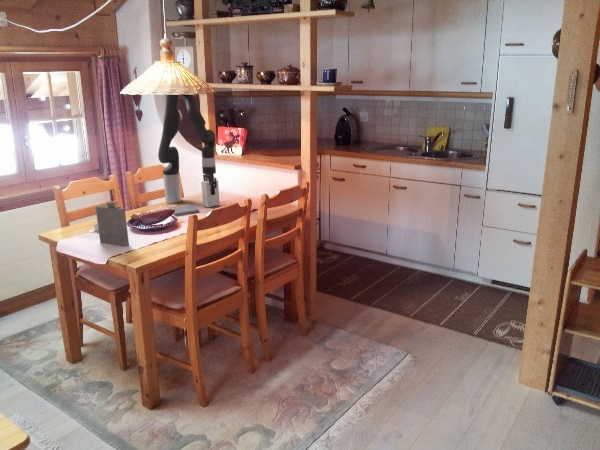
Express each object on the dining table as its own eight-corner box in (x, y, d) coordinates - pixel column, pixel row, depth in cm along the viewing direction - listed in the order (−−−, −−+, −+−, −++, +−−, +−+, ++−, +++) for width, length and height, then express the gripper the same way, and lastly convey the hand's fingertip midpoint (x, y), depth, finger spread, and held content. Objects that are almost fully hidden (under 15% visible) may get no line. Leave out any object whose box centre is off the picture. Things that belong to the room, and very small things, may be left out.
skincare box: (214, 203, 314) (213, 178, 310) (220, 205, 310) (218, 180, 306) (202, 205, 309) (200, 180, 305) (207, 207, 305) (206, 182, 301)
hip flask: (98, 243, 247) (93, 201, 241) (105, 240, 250) (99, 199, 245) (125, 246, 241) (120, 204, 235) (131, 244, 244) (126, 202, 239)
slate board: (165, 210, 303) (165, 207, 303) (188, 206, 310) (188, 204, 310) (175, 216, 290) (175, 213, 290) (199, 212, 297) (199, 209, 297)
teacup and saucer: (110, 230, 268) (109, 222, 267) (96, 234, 262) (95, 226, 260) (99, 228, 273) (98, 220, 271) (86, 231, 266) (85, 224, 265)
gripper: (197, 164, 307) (199, 192, 311) (207, 167, 295) (209, 197, 300) (209, 162, 310) (211, 190, 315) (220, 166, 299) (221, 195, 304)
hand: (210, 193), depth 307 cm, fingers closed on skincare box, 6 cm apart
